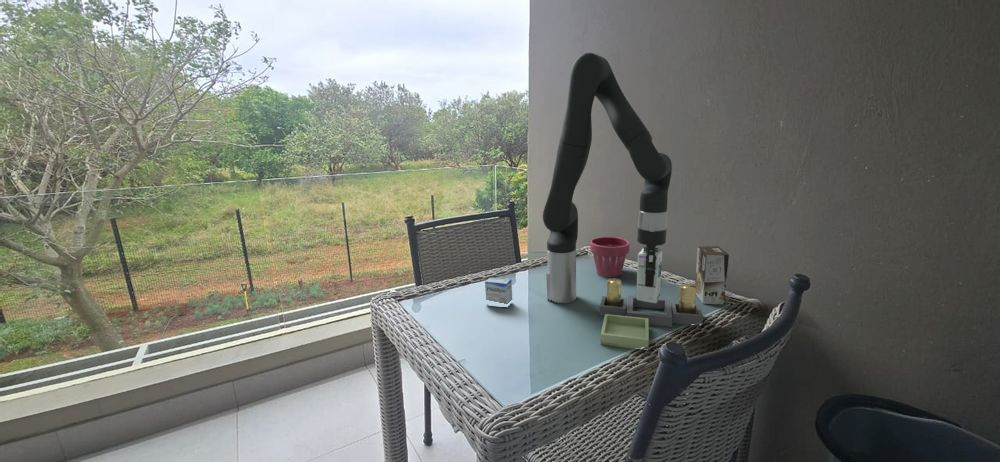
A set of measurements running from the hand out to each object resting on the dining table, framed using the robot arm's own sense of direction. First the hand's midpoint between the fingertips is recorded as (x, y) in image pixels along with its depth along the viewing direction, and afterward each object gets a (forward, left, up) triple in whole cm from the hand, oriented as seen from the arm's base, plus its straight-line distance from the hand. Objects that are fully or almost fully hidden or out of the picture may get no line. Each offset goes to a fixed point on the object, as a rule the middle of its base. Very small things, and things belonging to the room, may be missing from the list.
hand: (649, 281), depth 110 cm
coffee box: (+18, +16, -11) cm, 27 cm away
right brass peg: (+10, 0, -11) cm, 15 cm away
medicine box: (-46, -4, -11) cm, 47 cm away
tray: (-6, -14, -11) cm, 18 cm away
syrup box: (0, 0, -5) cm, 5 cm away
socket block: (0, 0, -11) cm, 11 cm away
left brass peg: (-10, 0, -11) cm, 14 cm away
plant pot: (-14, +32, -11) cm, 37 cm away
